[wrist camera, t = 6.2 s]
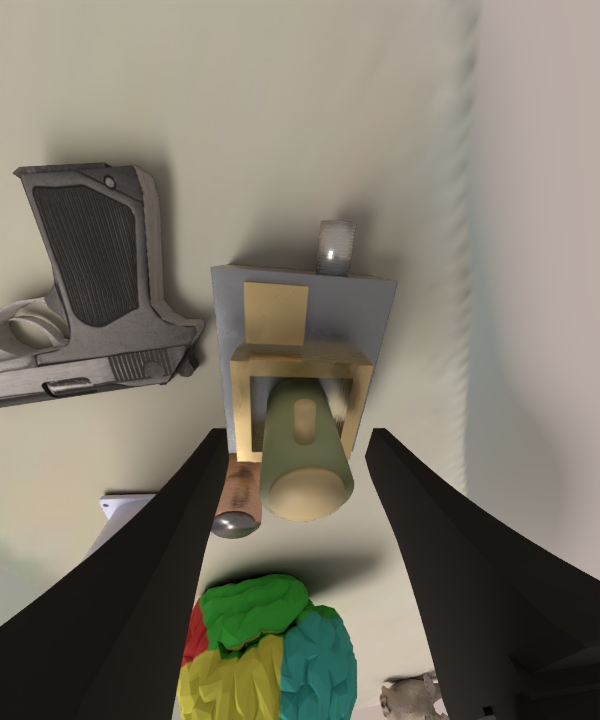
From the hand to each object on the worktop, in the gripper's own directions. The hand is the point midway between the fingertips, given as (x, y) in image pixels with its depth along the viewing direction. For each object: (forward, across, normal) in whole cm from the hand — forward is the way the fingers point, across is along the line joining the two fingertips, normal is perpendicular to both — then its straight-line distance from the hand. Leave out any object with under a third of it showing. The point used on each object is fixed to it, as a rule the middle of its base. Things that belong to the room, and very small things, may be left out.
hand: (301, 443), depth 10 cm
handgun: (+8, +15, -4) cm, 18 cm away
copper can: (+7, +4, +9) cm, 12 cm away
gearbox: (+7, 0, -3) cm, 7 cm away
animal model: (+7, -50, +126) cm, 136 cm away
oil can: (+3, 0, 0) cm, 3 cm away
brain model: (+7, +1, +40) cm, 41 cm away
